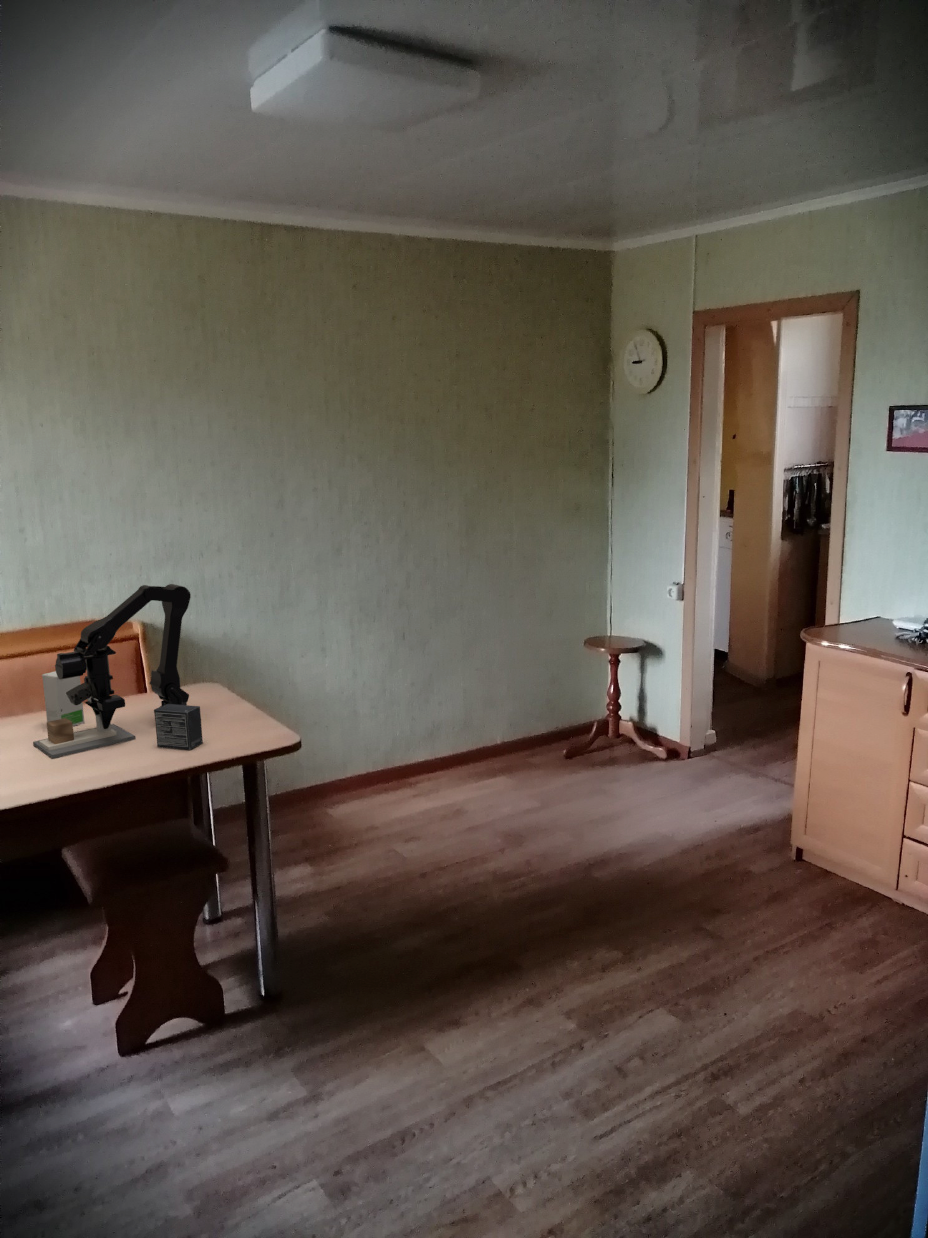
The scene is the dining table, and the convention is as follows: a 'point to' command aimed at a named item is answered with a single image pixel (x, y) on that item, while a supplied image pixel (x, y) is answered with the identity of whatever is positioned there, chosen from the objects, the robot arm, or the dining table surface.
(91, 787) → the dining table surface
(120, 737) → the charcoal board
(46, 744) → the off-white strip
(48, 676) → the skincare box
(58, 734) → the walnut block
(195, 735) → the small box
